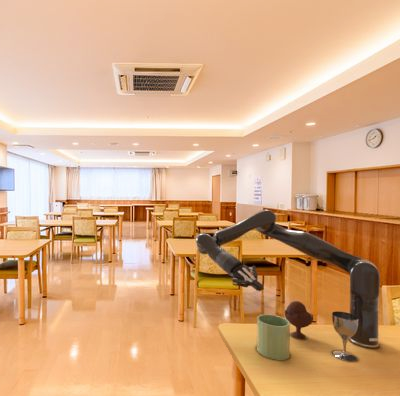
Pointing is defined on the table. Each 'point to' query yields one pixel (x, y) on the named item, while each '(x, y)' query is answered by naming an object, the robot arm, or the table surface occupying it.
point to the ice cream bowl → (298, 318)
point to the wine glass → (345, 332)
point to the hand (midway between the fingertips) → (261, 288)
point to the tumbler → (273, 336)
